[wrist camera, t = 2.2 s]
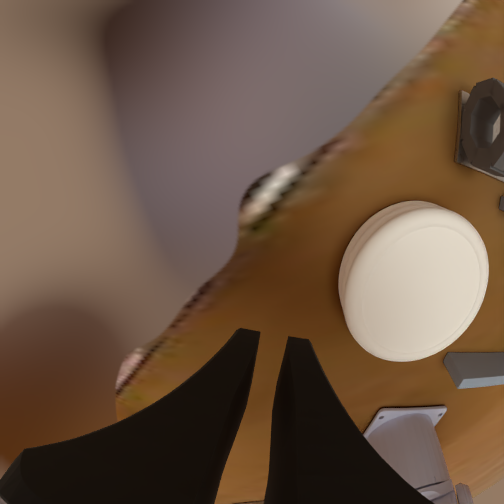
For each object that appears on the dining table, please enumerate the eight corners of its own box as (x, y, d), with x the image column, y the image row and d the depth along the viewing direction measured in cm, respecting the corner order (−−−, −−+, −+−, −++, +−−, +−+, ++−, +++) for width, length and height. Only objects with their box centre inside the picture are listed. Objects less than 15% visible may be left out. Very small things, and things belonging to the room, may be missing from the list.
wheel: (479, 173, 13) (531, 183, 8) (457, 164, 13) (509, 171, 8) (484, 98, 11) (533, 89, 6) (462, 87, 12) (510, 72, 7)
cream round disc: (324, 330, 19) (327, 362, 16) (350, 186, 16) (364, 193, 13) (441, 337, 18) (458, 364, 15) (479, 213, 15) (508, 226, 11)
